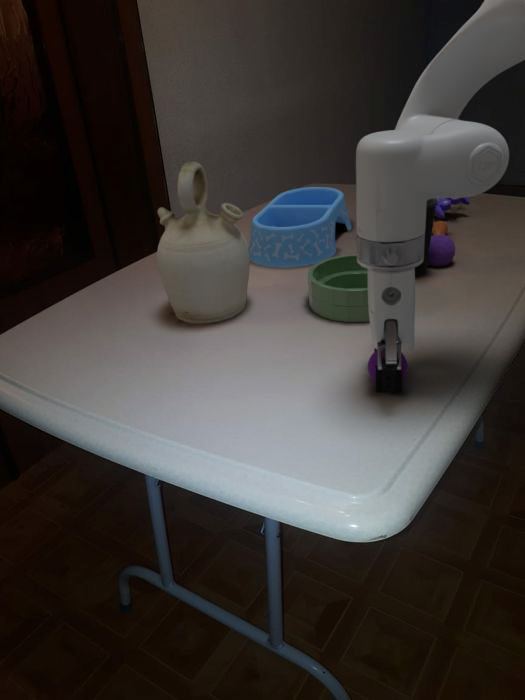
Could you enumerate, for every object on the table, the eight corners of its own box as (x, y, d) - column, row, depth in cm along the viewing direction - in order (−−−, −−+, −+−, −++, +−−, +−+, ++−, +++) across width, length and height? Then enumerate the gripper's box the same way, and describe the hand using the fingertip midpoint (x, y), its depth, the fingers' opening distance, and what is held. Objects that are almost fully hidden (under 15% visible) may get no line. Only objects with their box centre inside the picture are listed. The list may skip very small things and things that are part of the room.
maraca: (457, 217, 116) (459, 242, 99) (450, 245, 119) (450, 274, 101) (428, 212, 117) (425, 236, 100) (421, 239, 120) (417, 267, 103)
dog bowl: (324, 272, 107) (323, 230, 103) (234, 268, 113) (229, 228, 109) (358, 219, 134) (358, 184, 130) (284, 218, 141) (281, 184, 136)
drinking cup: (406, 286, 98) (410, 170, 88) (382, 272, 104) (383, 162, 94) (442, 276, 100) (450, 162, 90) (416, 264, 106) (421, 155, 96)
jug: (271, 298, 99) (257, 152, 86) (220, 337, 88) (196, 175, 75) (203, 287, 106) (182, 150, 94) (148, 321, 95) (116, 172, 83)
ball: (405, 372, 74) (406, 339, 72) (408, 393, 70) (410, 359, 67) (367, 372, 75) (367, 340, 73) (368, 393, 71) (368, 360, 68)
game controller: (444, 210, 121) (416, 192, 128) (446, 239, 127) (419, 221, 134) (482, 189, 122) (452, 172, 129) (482, 219, 128) (453, 202, 135)
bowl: (400, 284, 99) (401, 252, 96) (407, 324, 86) (409, 289, 83) (313, 286, 102) (311, 255, 99) (306, 326, 88) (304, 291, 85)
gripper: (433, 275, 55) (423, 421, 64) (417, 223, 70) (411, 348, 79) (356, 277, 57) (358, 420, 66) (356, 225, 71) (357, 349, 80)
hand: (387, 380), depth 72 cm, fingers closed on ball, 4 cm apart
